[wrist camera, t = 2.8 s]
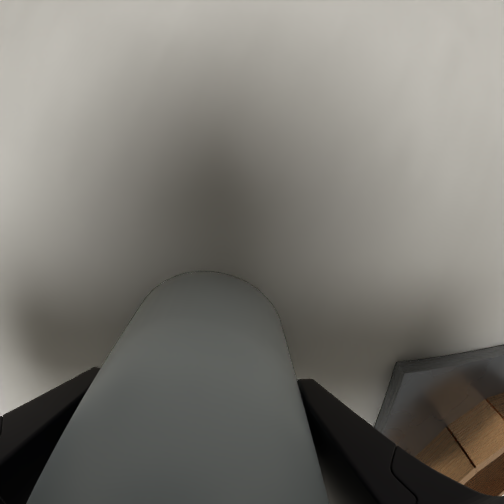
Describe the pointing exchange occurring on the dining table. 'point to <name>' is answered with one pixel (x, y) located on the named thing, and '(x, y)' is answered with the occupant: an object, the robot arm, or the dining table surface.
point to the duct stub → (190, 408)
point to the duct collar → (451, 415)
